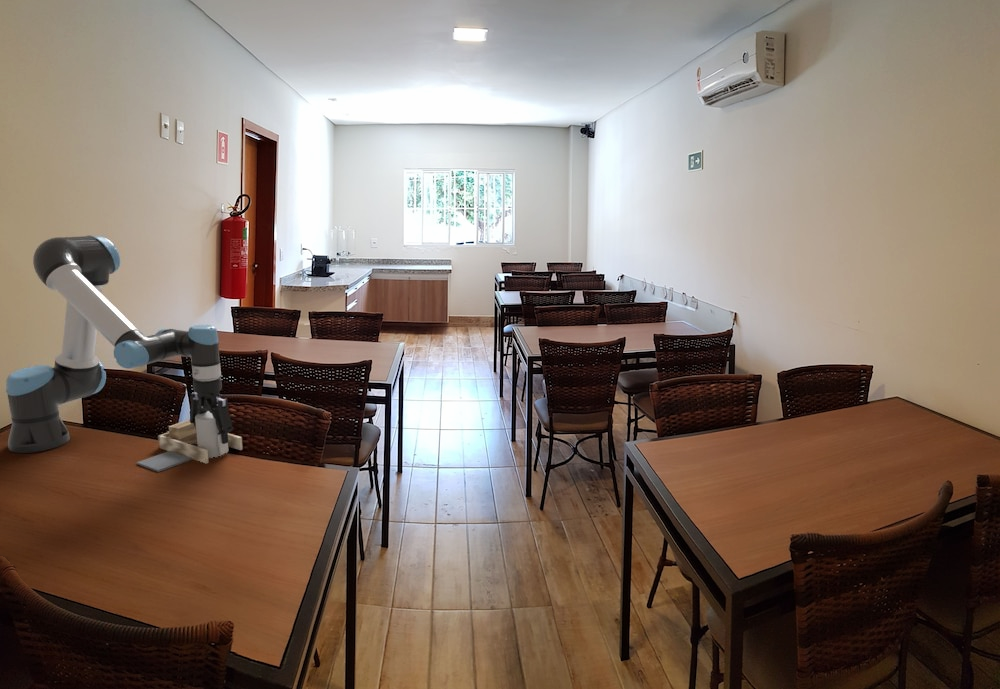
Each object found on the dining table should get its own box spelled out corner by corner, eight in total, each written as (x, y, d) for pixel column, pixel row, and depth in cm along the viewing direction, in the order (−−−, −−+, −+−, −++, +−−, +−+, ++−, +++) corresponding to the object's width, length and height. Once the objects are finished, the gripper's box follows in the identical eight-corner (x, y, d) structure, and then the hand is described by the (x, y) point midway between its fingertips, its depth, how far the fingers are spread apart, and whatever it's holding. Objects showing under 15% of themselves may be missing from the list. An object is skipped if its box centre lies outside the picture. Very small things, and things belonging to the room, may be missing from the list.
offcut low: (168, 448, 190) (167, 437, 190) (194, 438, 198) (193, 428, 197) (176, 450, 188) (175, 440, 188) (202, 441, 196) (201, 431, 195)
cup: (233, 448, 190) (230, 411, 188) (218, 459, 183) (215, 420, 180) (208, 446, 191) (204, 409, 189) (192, 457, 183) (189, 418, 181)
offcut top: (169, 437, 190) (168, 426, 189) (188, 429, 196) (187, 419, 195) (179, 439, 188) (178, 428, 187) (198, 431, 195) (197, 421, 194)
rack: (159, 447, 189) (157, 435, 188) (196, 435, 200) (195, 423, 199) (206, 463, 179) (204, 450, 178) (242, 449, 190) (241, 437, 189)
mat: (137, 464, 178) (136, 462, 177) (169, 452, 186) (169, 450, 186) (158, 472, 173) (158, 470, 173) (191, 459, 181) (191, 457, 181)
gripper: (171, 375, 183) (178, 446, 189) (220, 387, 173) (226, 461, 178) (194, 369, 190) (200, 438, 195) (243, 380, 180) (248, 453, 185)
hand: (213, 449), depth 187 cm, fingers open, 9 cm apart
